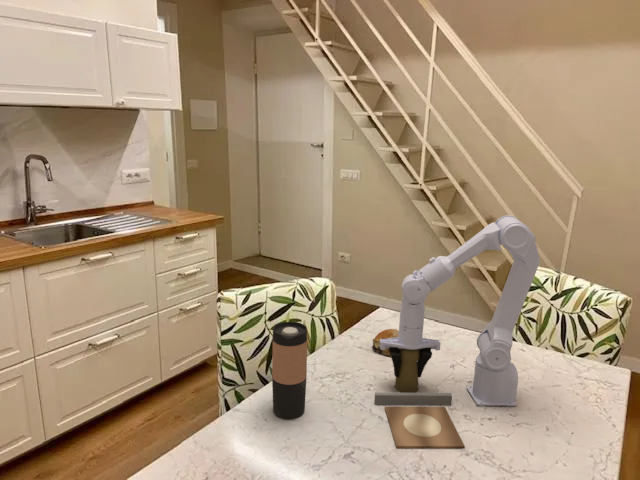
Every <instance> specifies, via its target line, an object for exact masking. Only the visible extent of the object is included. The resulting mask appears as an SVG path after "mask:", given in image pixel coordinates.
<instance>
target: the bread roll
mask: <svg viewBox="0 0 640 480" xmlns="http://www.w3.org/2000/svg"><path fill="white" fill-rule="evenodd" d="M395 337H399V329H396V328H387V329H383V330H382V331H379V332H378V333H377V334H376V335H375V337H374V338H373V339H372V349H373V350H374V351H375V352H376V353H377V354H379V355H382V356H386V357H390V358H391V355H390V352H389V350H388V349H385V350H381V349H380V339H388V338H395Z"/></svg>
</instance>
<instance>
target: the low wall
mask: <svg viewBox="0 0 640 480" xmlns="http://www.w3.org/2000/svg"><path fill="white" fill-rule="evenodd" d="M452 401H453V394H452V393H451V392H417V393H400V392H387V391H386V392H381V391H380V392H378V391H377V392H374V406H375V405H376V406H452Z"/></svg>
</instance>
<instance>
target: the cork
mask: <svg viewBox="0 0 640 480" xmlns="http://www.w3.org/2000/svg"><path fill="white" fill-rule="evenodd" d="M399 351H400V355H401V358H400V363H399V377H395V380H394V381H395V382H394V385H393V386H394V389H395V391H397V393H419V390H420V389H419V388H420V386H419V377H418V368H417V361H418V360H419V357H420V352H419V349H415V350H411V349H404V348H403V349H399Z"/></svg>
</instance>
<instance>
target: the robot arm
mask: <svg viewBox="0 0 640 480" xmlns="http://www.w3.org/2000/svg"><path fill="white" fill-rule="evenodd" d="M501 246H503V247H504V248H505V249H507V251H508V253H509V254H510V256H511V257H512V259H513V262H512V264H511V267H510V271H509V273H508V275H507V278H506V281H505V283H504V286H503V289H502V291H501V294H500V297H499V300H498V302H497V304H496V307H495V310H494V313H493V315H492V318H491V320H490V322H488V323H487V324H486V326H485V327H484V330H483V331H482V332H480V333H479V335H478V336H477V338H476V346H477V348H478V349H479V353H478V355H477V356H476V357H475V358H476V359H475V364H474V365H475V366H474V374H473V383H472V385H467V386H466V390H467V391H468V393H469V395H470V396H471V399H473V401H474V403H475V404H476V405H477V406H480V407H481V406H483V407H484V406H485V407H486V406H493V407H494V406H495V407H496V406H498V407H499V406H501V407H502V406H503V407H504V406H505V407H508V406H509V407H514V406H515V407H516V406H517V403H516V398H517V393H518V391H517V390H518V385H519V384H518V383H519V373H518V369H517V367H516V365H515V364H514V363H513V362H511V361H512V355H511V350H512V347H513V335H514V334H513V333H514V330H515V327H516V324H517V322H518V320H519V319H518V318H520V317H519V316H520V314H521V312H522V309H523V307H524V304H525V302H526V299H527V296H528V293H529V291H530V288H531V286H532V283H533V281H534V278H535V277H536V273H537V271H538V269H539V265H540V263H541V259H540V255H539V251H538V246H537V243H536V235H535V234H534V233H533V232H532V230H531V229H530V227H528V225H526V224H525V223H523V222H521V221H520V220H519V218H517V217H516V216H514V215H502V216H501V217H499V218H497V220H496V221H495V222H493V221H492V222H491V223H489V224H488V225H486V226H485V227H484V228H483V229H481V230H480V231H479V232H477V233H476V234H474V235H473V236H472V237H471V238H470V239H468V240H467V241H466V242H465V243H463V244H461V246H459V247H458V248H457V249H455V250H454V251H453V252H452V253H450V254H448V255H447V256H446V255H445V256H443V255H439V256H437V257H434V256H433V257H431V258H429V263H427V264H426V265H424V266H423V267H421V268H419V270H417V269H415V270H414V271H412V273H410V274H408V275H407V276H405V277H404V278H403V280H402V283H401V294H402V297H401V299H400V300H401V303H400V309H399V323H398V324H399V325H398V326H399V327H398V331H399V337H395V338H388V339H380V349H381V350H385V349H388V350H389V352H390V355H391V357H390V358H391V360H392V365H393V366H392V367H393V373H394V377H395V378H396V377H399V363H400V358H401V355H400V351H399V349H403V348H404V349H411V350H415V349H419V352H420V357H419V360H418V361H417V368H418V378H422V375H423V371H424V370H425V367H426V365H427V364H428V362H429V361H430V359H431V358H432V356H433V352H432V350H435V351H440V350H441V345H442V344H441V341H440V340H439V339H432V338H425V337H423V336H424V335H423V334H424V322H425V312H426V311H425V310H426V308H425V300H426V299H427V298H428V294H429V293H430V292H433V291H434V290H436V289H438V288H439V287H440V286H441V285H443V284H445V283H446V282H447V281H449V280H451V279H452V278H453V277H455V273H456V270H457V268H459V267H460V266H462V265H464V264H466V262H468V261H470V260H472V259H474V258H476V256H478V255H480V254H481V253H483V252H485V251H502V247H501Z"/></svg>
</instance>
